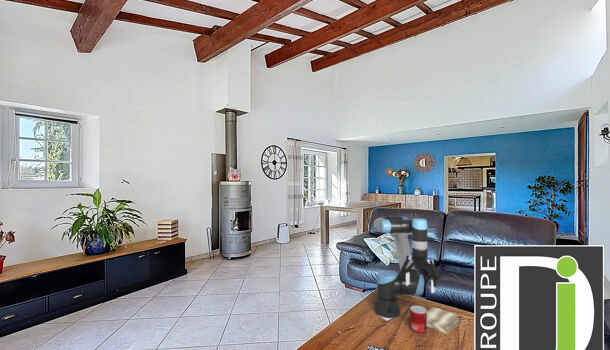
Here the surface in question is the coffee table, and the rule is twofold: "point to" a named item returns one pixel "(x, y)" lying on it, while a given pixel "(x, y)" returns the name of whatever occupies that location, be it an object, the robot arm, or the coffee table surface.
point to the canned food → (418, 319)
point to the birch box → (442, 320)
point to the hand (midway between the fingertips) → (420, 288)
